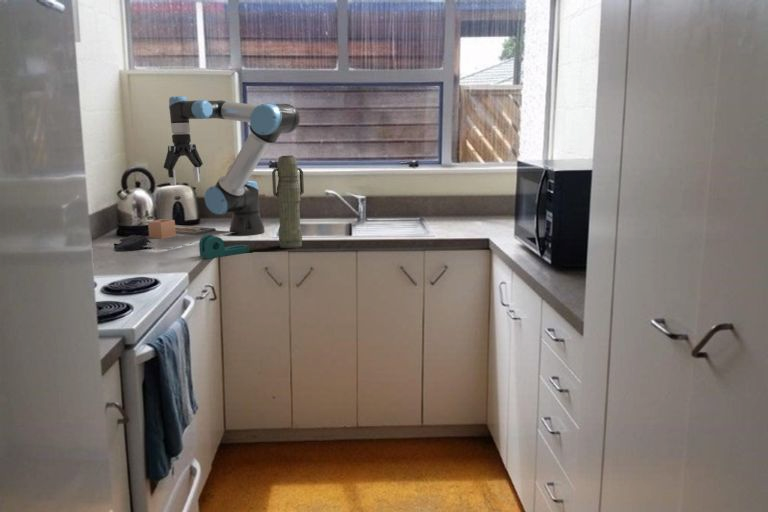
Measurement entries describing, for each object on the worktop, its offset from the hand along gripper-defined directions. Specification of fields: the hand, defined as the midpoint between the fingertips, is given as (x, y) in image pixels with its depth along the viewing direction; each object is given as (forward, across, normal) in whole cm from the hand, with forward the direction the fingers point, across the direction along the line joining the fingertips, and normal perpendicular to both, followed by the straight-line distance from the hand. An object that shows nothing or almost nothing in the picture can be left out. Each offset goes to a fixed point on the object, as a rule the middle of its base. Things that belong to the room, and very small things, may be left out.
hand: (185, 183), depth 298 cm
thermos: (+23, +4, +59) cm, 63 cm away
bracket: (+23, +26, +46) cm, 58 cm away
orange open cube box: (+22, +14, -1) cm, 26 cm away
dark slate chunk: (+23, +29, -1) cm, 37 cm away
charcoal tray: (+22, 0, -3) cm, 23 cm away
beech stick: (+24, 0, +4) cm, 25 cm away
